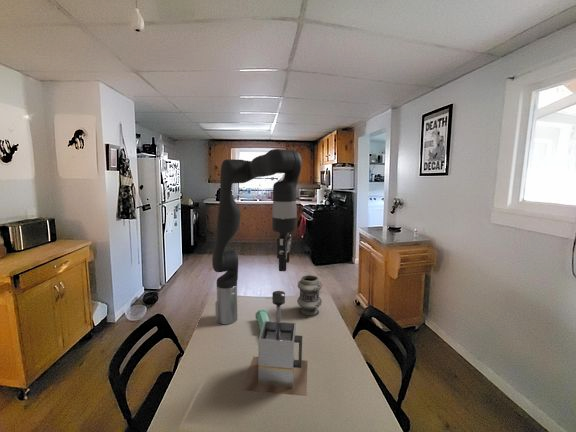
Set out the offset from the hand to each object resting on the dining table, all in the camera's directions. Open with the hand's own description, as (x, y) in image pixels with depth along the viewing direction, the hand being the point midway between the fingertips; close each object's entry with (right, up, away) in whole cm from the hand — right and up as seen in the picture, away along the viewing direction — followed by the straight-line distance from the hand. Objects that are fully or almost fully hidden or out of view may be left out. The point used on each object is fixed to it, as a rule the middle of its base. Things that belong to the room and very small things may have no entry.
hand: (284, 266), depth 87 cm
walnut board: (-2, -39, +6) cm, 39 cm away
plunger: (-2, -26, +4) cm, 26 cm away
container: (-8, -35, +31) cm, 48 cm away
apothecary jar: (+12, -32, +51) cm, 61 cm away
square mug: (-1, -38, +6) cm, 38 cm away
